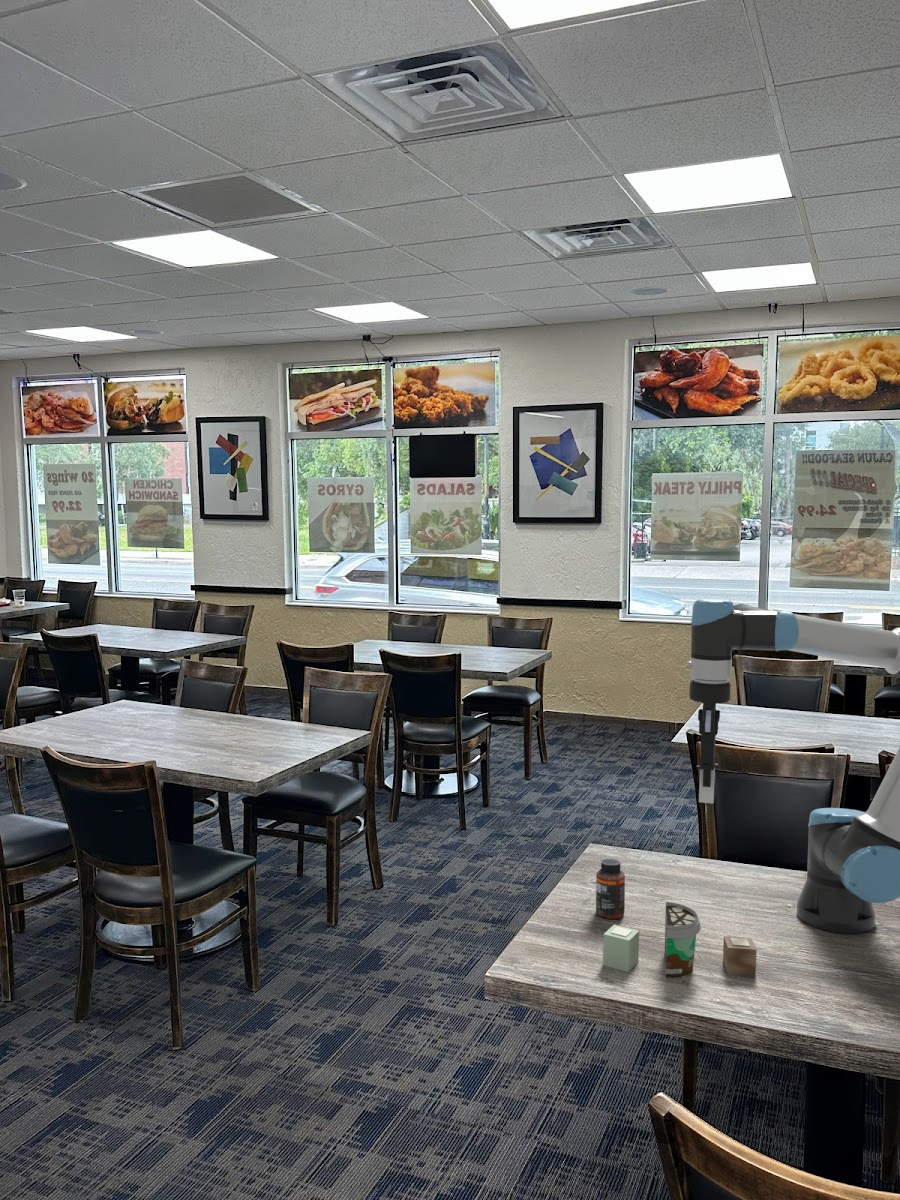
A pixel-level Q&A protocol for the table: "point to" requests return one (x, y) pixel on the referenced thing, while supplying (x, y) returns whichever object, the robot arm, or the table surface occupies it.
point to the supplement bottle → (610, 890)
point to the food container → (680, 939)
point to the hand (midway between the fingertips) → (706, 801)
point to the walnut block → (739, 956)
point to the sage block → (621, 948)
